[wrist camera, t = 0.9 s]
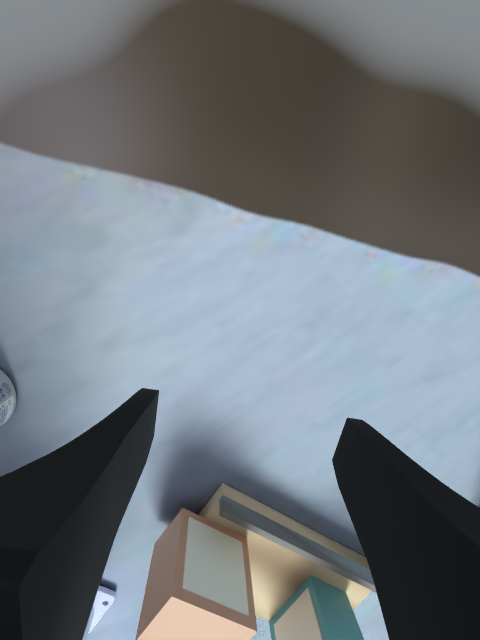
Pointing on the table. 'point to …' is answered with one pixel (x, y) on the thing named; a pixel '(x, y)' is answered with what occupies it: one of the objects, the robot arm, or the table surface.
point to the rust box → (198, 584)
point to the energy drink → (6, 398)
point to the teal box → (316, 615)
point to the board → (286, 552)
